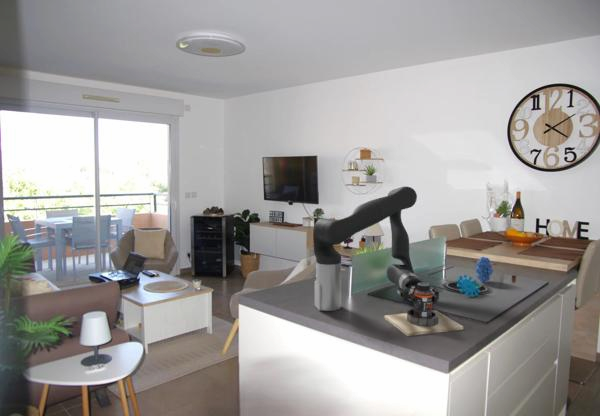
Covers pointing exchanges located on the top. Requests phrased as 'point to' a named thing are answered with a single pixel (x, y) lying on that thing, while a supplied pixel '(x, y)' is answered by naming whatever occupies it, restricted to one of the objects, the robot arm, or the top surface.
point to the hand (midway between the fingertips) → (425, 300)
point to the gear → (468, 286)
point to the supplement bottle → (423, 301)
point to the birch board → (411, 329)
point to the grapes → (484, 269)
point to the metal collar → (422, 319)
